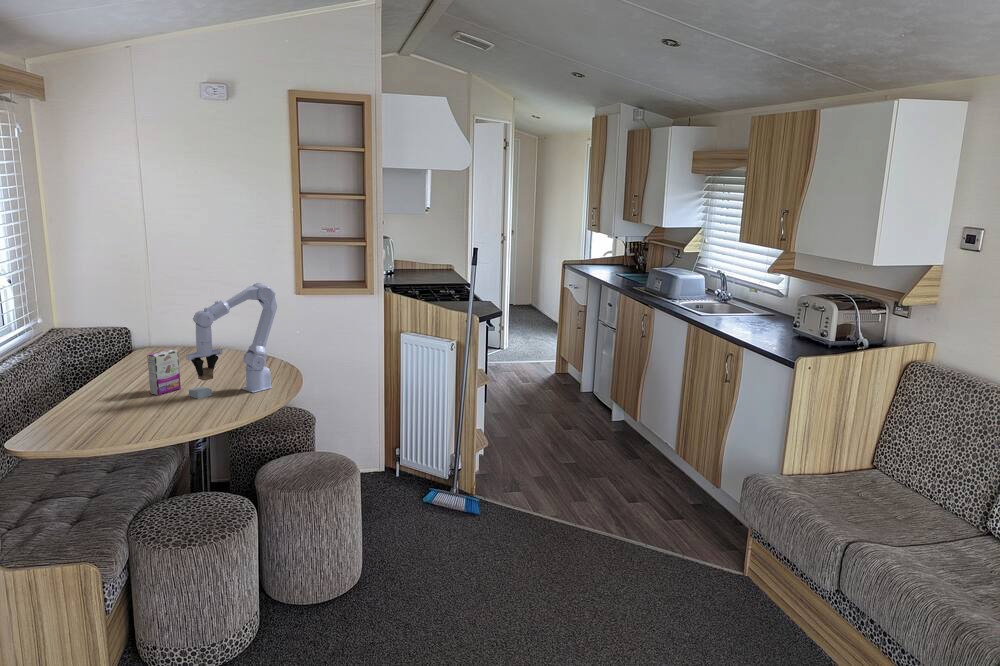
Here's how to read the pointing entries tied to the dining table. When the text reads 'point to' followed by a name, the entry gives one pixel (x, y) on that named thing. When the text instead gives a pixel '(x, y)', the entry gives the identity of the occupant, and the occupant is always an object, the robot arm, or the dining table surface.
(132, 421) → the dining table surface
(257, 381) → the robot arm
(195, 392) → the base block
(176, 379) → the candy bar box
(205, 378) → the walnut cube
